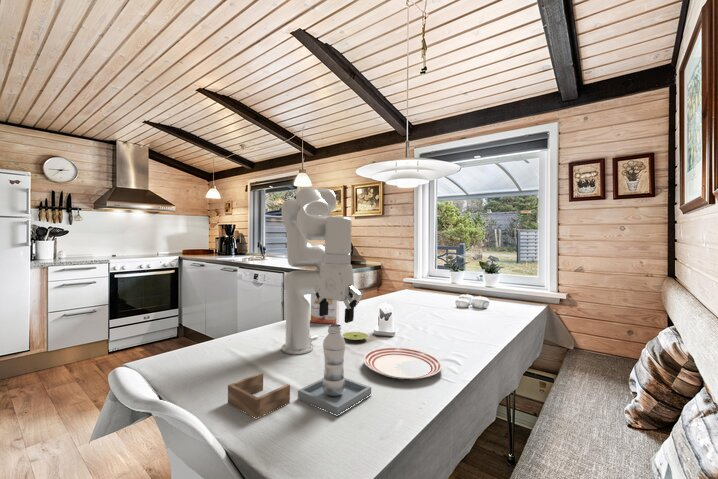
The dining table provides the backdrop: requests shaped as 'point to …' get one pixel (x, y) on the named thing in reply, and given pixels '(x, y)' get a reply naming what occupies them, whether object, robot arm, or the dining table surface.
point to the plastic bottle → (334, 361)
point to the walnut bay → (254, 405)
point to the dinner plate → (399, 361)
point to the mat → (355, 335)
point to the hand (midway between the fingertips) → (336, 318)
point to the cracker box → (332, 311)
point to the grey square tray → (334, 403)
